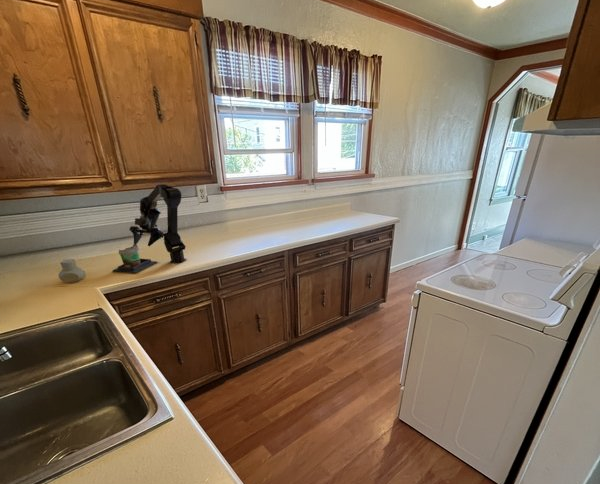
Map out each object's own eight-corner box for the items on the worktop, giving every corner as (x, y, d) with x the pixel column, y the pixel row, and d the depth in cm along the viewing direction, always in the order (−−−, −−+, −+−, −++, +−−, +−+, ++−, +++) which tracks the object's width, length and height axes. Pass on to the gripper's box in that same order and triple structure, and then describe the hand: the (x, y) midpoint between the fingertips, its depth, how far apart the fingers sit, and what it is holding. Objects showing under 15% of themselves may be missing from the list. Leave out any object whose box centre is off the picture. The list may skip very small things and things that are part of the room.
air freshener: (89, 276, 163) (82, 257, 158) (85, 282, 156) (78, 262, 151) (64, 279, 160) (56, 259, 155) (58, 285, 153) (51, 264, 148)
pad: (157, 262, 181) (156, 258, 180) (136, 273, 166) (134, 269, 165) (135, 261, 184) (134, 257, 183) (112, 271, 169) (111, 267, 168)
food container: (133, 269, 169) (128, 250, 164) (123, 269, 170) (117, 250, 165) (148, 262, 179) (143, 244, 175) (138, 261, 181) (133, 244, 176)
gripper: (127, 210, 176) (116, 236, 172) (155, 212, 171) (145, 238, 167) (141, 222, 186) (131, 246, 182) (168, 224, 181) (159, 249, 177)
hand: (141, 245), depth 177 cm, fingers open, 9 cm apart
